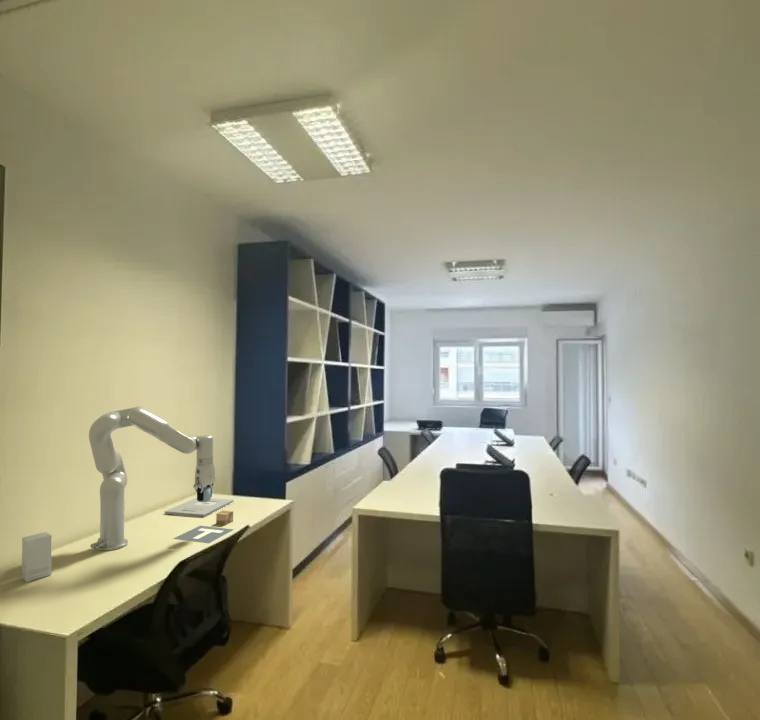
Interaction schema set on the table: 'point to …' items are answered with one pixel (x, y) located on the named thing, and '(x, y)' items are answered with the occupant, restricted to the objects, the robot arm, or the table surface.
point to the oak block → (224, 517)
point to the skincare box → (36, 556)
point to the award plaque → (199, 507)
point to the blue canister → (206, 494)
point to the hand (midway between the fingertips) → (204, 498)
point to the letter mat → (203, 534)
